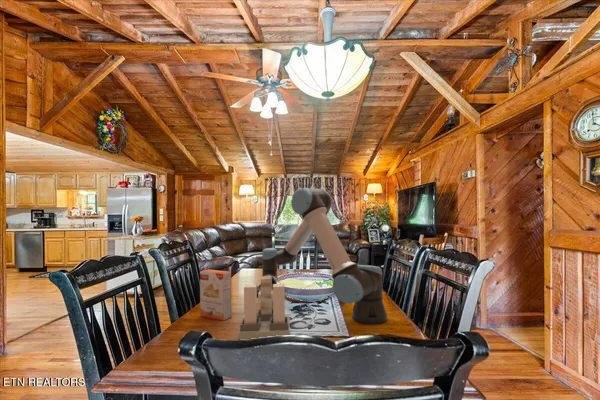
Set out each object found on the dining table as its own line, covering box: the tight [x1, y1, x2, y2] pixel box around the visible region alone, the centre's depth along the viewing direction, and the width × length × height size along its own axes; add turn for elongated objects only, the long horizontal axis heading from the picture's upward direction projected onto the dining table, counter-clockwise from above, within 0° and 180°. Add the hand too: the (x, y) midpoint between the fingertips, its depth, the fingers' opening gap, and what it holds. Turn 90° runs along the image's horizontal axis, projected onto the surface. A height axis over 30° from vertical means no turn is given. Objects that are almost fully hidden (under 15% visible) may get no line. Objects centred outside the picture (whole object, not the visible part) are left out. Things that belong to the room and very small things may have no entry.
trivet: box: [285, 295, 329, 304], centre depth 176 cm, size 25×25×2 cm
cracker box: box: [199, 269, 233, 322], centre depth 144 cm, size 14×6×21 cm, turn 62°
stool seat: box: [238, 283, 291, 340], centre depth 127 cm, size 19×19×19 cm
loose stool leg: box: [260, 275, 273, 314], centre depth 133 cm, size 4×4×16 cm
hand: (265, 297), depth 128 cm, fingers closed on loose stool leg, 4 cm apart
